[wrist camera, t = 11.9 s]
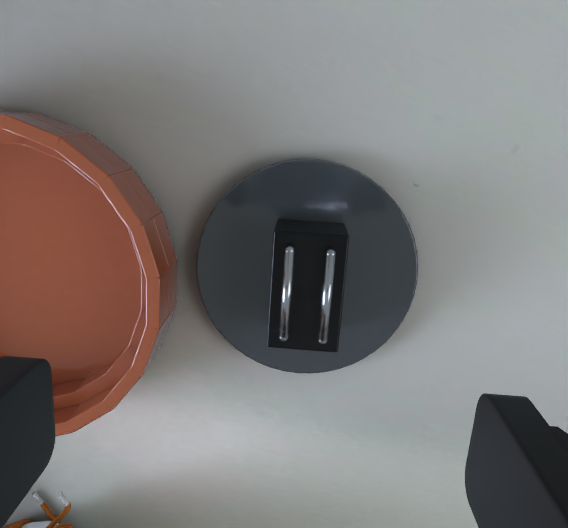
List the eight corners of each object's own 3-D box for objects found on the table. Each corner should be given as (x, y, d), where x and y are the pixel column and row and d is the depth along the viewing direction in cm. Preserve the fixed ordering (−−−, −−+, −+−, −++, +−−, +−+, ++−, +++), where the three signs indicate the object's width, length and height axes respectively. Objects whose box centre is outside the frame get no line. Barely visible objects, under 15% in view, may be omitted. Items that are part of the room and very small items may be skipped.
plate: (202, 150, 24) (198, 151, 23) (429, 167, 24) (433, 169, 23) (196, 357, 26) (193, 365, 26) (400, 374, 26) (403, 382, 25)
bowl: (-136, 101, 24) (-209, 98, 21) (182, 123, 24) (160, 124, 20) (-98, 389, 28) (-154, 427, 24) (177, 412, 27) (158, 454, 24)
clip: (277, 218, 24) (272, 232, 21) (345, 223, 24) (350, 238, 21) (270, 324, 25) (265, 352, 22) (335, 329, 25) (338, 358, 22)
